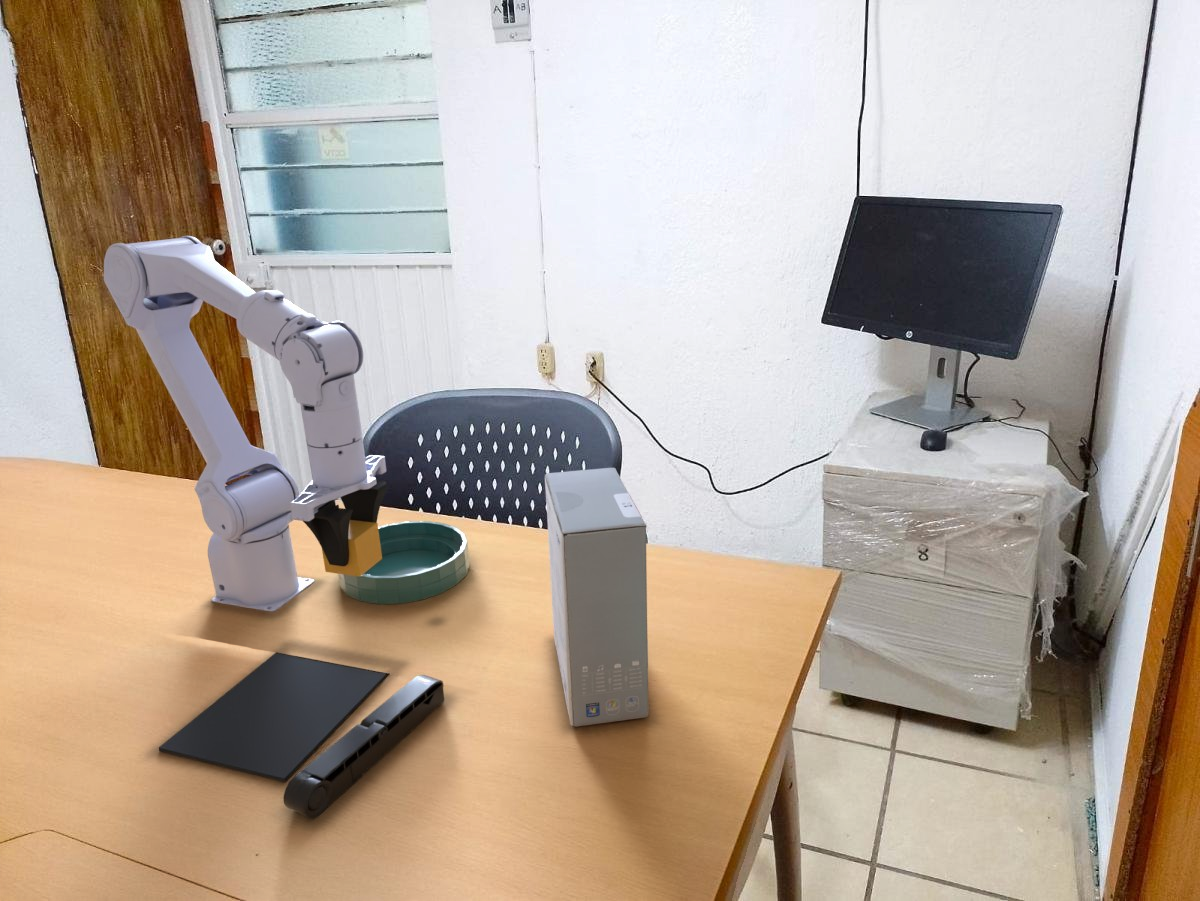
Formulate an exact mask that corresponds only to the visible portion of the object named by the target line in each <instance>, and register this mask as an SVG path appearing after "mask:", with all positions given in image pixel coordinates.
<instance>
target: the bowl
mask: <svg viewBox="0 0 1200 901" xmlns="http://www.w3.org/2000/svg"><path fill="white" fill-rule="evenodd" d="M378 531H379V538H380V545H381V553H382V559H381V560H380V561H379V562H377V563H376V564H375V565H374V566H373V567H371V568H370V569H369V570H368V571H366V572H365V573H364V574H363V575H361V576H360V577H359V576H352V575H345V574H338V573H337V575H338V581H339V582H338V583H339V587H340V589H341V590H342V591H343V592H344V594H345V595H346V596H348V597H350V598H353V599H354V600H357V601H358V602H363V603H370V604H377V605H401V604H406V603H407V604H408V603H413V602H417V601H423V600H425V599H428V598H429V599H430V598H431V597H434V596H438V595H440V594H443V593H445V592H446V591H448V590H450V589H452V588H453V587H455V586H457V585H458V584H459V583H461V581H462V580H463V579H464V578H466V576H467V575H468V572H469V569H470V566H471V563H470V556H469V555H470V553H469V544H468V543H469V542H468V538H467V536H466V534H465V533H464V532H463V531H462V530H460V529H459V528H458V527H456V526H453V525H450V524H447V523H444V522H438V521H430V520H411V521H410V520H409V521H400V522H394V523H388V524H385V525H381V526H378Z"/></svg>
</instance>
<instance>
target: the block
mask: <svg viewBox="0 0 1200 901" xmlns="http://www.w3.org/2000/svg"><path fill="white" fill-rule="evenodd" d="M378 527H379V524H378V522H377V523H373V522H364V521H355V520H350V522H349V529H348V545H349V562H348V564H347V565H346V566H336V565H330V564H329V562H328V560H327V558H326V556H325V553H324V551H323V549H322V548H321V552H322V558H323V564H324V570H325V573H331V574H337V575H338V574H345V575H352V576H359V577H360V576H361V575H363V574H364V573H365V572H366V571H368V570H369V569H370V568H371V567H373V566H374V565H375V564H376V563H377V562H379V561H380V560H381V559H382V553H381V545H380V538H379V531H378Z"/></svg>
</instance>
